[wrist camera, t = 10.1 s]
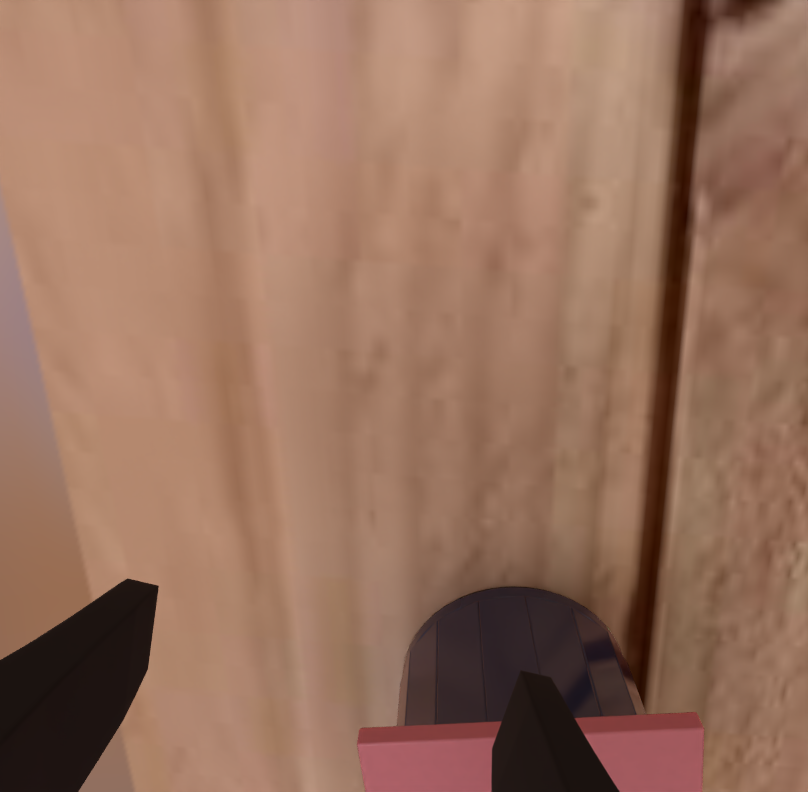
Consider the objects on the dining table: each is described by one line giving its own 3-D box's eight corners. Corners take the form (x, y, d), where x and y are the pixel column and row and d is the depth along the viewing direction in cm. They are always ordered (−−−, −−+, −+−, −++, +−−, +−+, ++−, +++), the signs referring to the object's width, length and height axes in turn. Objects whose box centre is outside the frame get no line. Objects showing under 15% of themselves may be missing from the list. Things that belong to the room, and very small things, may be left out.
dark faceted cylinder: (584, 783, 27) (624, 965, 21) (382, 737, 27) (363, 907, 21) (657, 616, 24) (729, 769, 18) (432, 563, 24) (428, 699, 18)
